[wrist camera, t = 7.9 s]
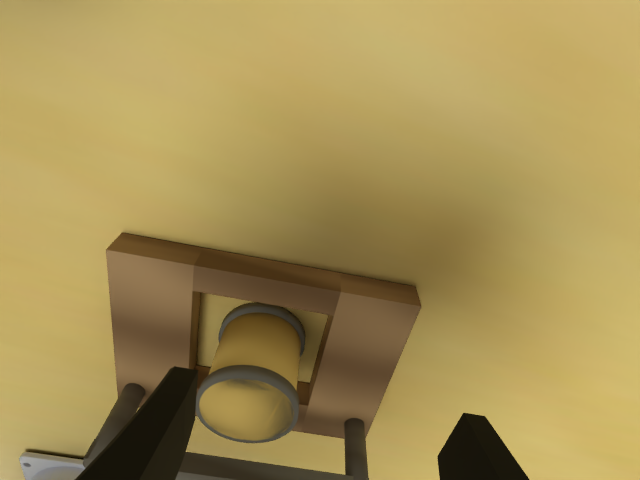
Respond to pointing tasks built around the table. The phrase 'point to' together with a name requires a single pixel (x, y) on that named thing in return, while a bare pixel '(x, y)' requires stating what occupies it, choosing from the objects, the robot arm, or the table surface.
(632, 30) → the table surface
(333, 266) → the table surface
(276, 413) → the cord reel
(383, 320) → the brown piece
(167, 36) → the table surface
